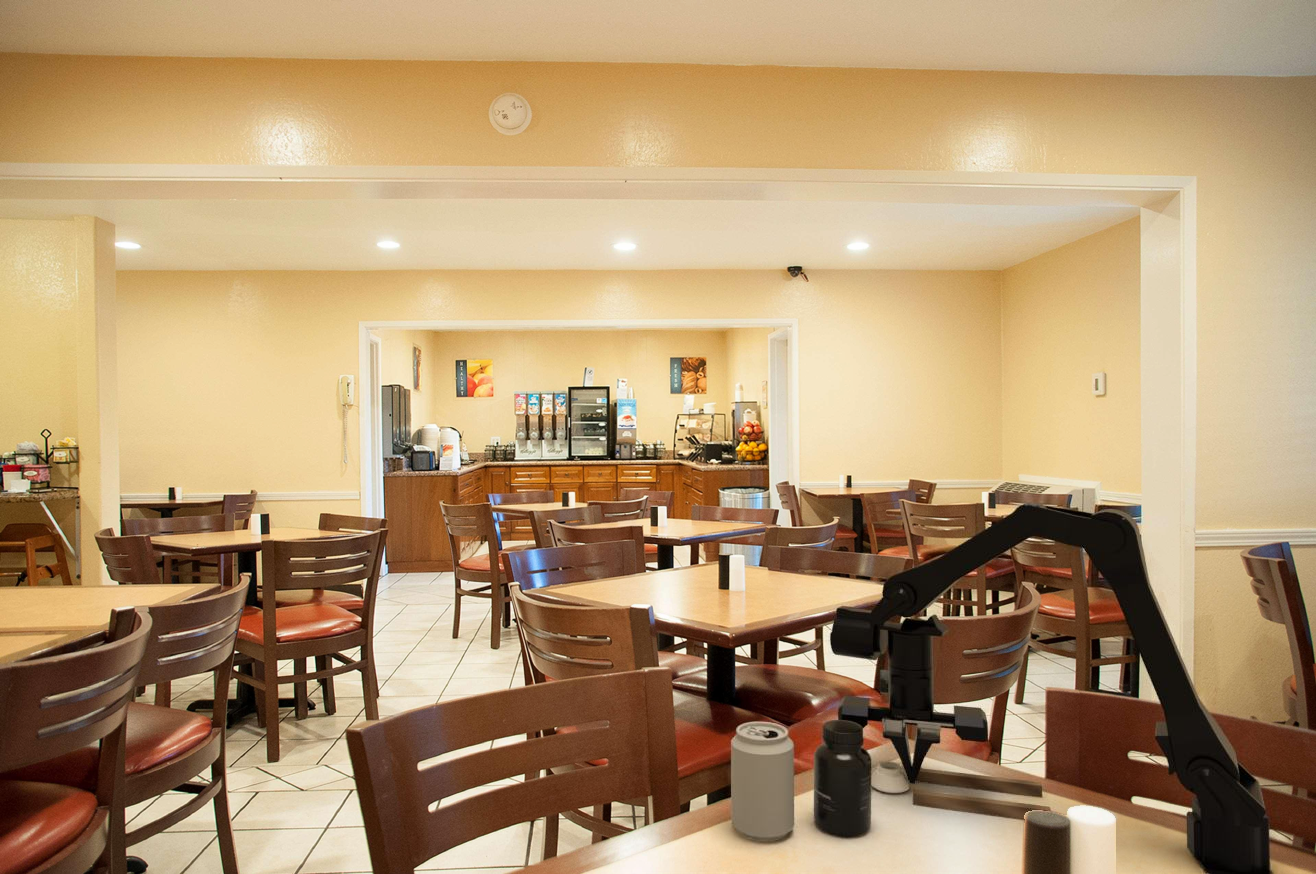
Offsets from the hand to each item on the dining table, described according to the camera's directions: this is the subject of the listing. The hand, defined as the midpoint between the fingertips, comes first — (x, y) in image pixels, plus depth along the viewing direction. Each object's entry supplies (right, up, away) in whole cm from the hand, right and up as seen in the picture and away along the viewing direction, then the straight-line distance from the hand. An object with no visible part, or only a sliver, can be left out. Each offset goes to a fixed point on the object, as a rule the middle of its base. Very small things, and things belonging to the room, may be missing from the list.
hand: (912, 782), depth 105 cm
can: (-21, -1, -11) cm, 24 cm away
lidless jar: (-3, -1, +1) cm, 3 cm away
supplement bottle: (-12, -1, -10) cm, 15 cm away
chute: (+8, -1, -3) cm, 8 cm away
